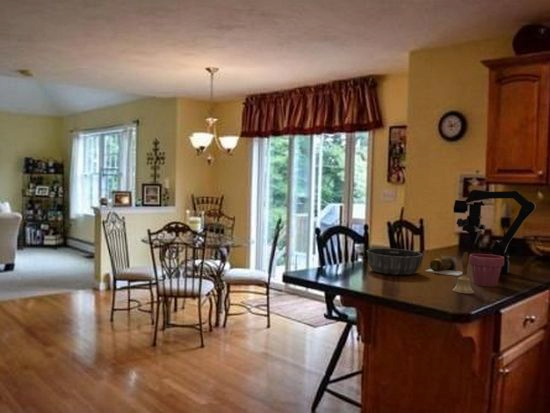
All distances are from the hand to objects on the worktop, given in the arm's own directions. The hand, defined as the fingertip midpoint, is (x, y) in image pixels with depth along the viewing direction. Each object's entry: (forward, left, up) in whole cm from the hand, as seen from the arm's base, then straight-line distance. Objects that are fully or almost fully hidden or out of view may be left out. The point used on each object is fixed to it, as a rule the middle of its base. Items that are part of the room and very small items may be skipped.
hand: (473, 244), depth 271 cm
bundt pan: (+24, +42, -13) cm, 50 cm away
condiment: (+7, +15, -9) cm, 19 cm away
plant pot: (-18, +39, -13) cm, 45 cm away
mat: (+6, +22, -13) cm, 26 cm away
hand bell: (-16, +62, -13) cm, 65 cm away
